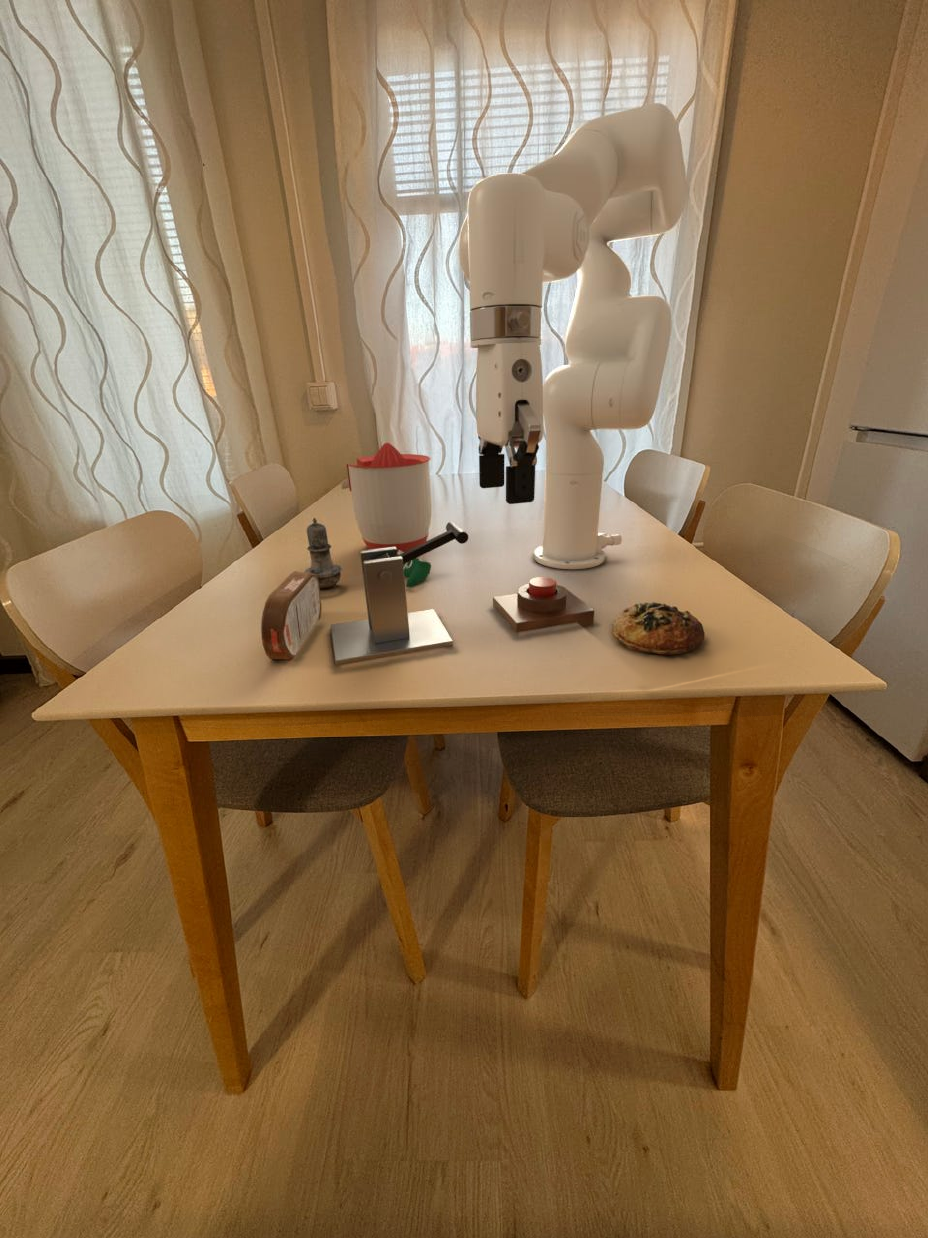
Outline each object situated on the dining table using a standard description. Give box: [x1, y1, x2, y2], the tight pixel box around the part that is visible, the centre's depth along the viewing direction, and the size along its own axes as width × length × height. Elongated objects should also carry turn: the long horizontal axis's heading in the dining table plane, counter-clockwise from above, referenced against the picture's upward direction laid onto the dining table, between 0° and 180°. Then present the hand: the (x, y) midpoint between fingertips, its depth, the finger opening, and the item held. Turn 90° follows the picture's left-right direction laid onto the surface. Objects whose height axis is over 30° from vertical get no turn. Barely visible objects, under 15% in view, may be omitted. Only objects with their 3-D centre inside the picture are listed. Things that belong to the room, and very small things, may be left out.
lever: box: [373, 521, 469, 564], centre depth 60 cm, size 12×5×2 cm, turn 107°
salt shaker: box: [303, 517, 343, 590], centre depth 78 cm, size 6×6×12 cm
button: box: [528, 576, 557, 597], centre depth 67 cm, size 4×4×2 cm
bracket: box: [330, 547, 454, 666], centre depth 61 cm, size 14×10×12 cm
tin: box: [260, 570, 322, 661], centre depth 63 cm, size 15×3×8 cm, turn 178°
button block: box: [492, 583, 595, 633], centre depth 68 cm, size 11×9×4 cm
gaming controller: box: [397, 550, 432, 588], centre depth 83 cm, size 9×4×6 cm
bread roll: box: [612, 601, 706, 656], centre depth 62 cm, size 11×11×5 cm
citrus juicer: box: [341, 442, 433, 554], centre depth 97 cm, size 16×17×20 cm
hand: (505, 494), depth 60 cm, fingers open, 9 cm apart
